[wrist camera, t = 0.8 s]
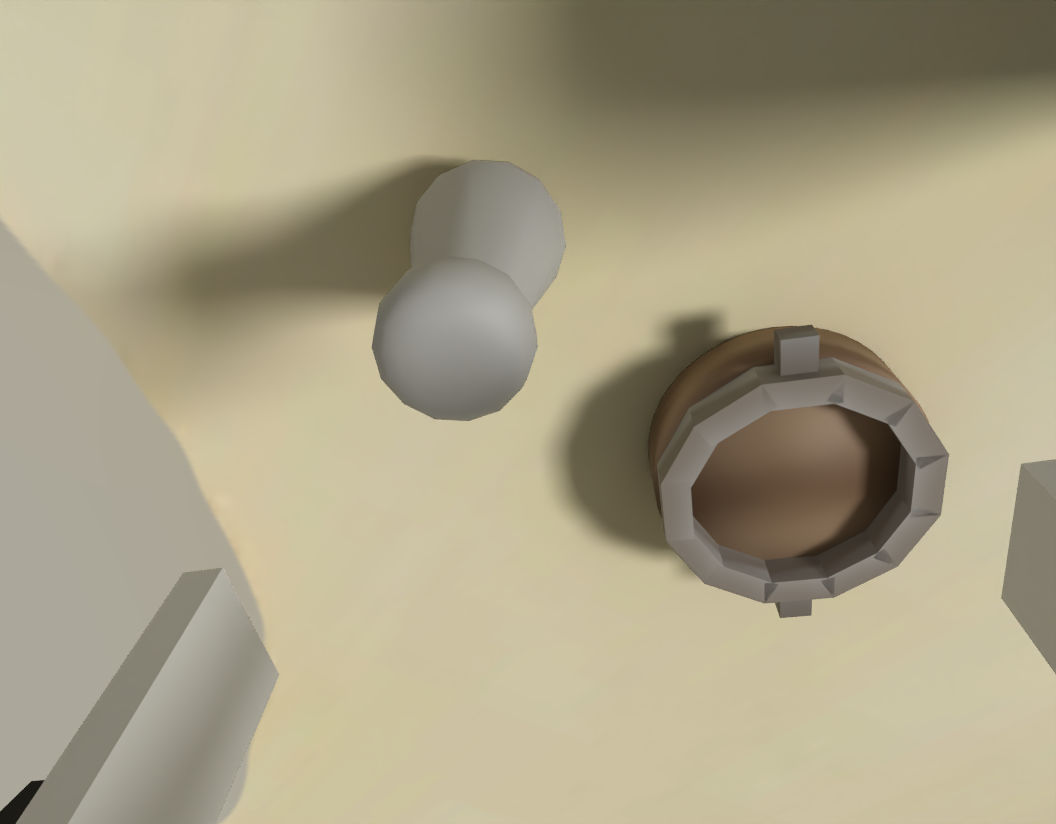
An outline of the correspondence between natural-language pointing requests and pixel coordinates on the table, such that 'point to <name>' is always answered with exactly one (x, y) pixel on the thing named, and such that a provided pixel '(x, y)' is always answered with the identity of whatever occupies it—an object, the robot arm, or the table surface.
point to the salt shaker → (470, 292)
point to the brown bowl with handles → (793, 467)
